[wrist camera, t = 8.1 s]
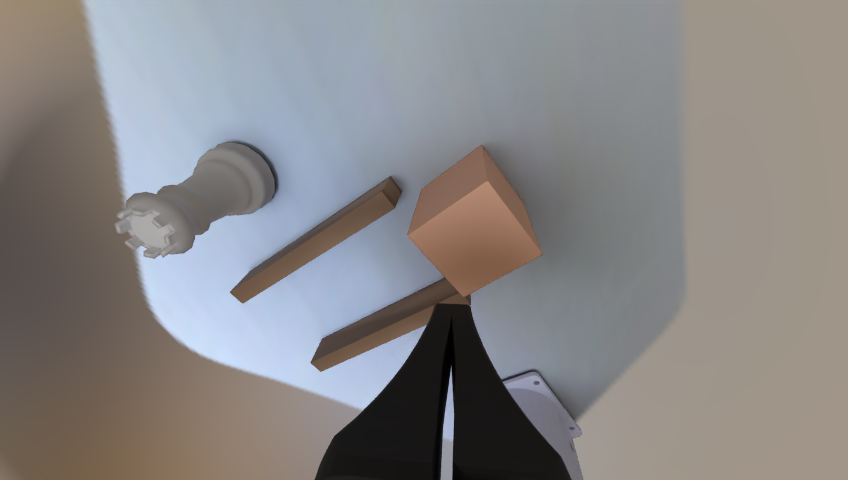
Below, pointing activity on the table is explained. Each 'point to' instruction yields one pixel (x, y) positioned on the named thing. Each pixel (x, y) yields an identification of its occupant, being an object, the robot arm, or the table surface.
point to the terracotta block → (473, 224)
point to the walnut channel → (374, 326)
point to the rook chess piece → (197, 201)
